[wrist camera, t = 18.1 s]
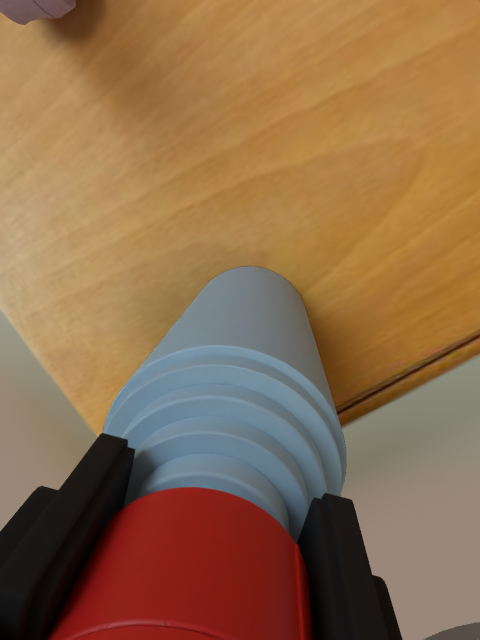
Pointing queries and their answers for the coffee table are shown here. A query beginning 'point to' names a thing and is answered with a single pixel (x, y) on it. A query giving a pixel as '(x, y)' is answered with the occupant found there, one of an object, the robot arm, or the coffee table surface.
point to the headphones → (35, 9)
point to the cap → (190, 574)
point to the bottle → (235, 402)
